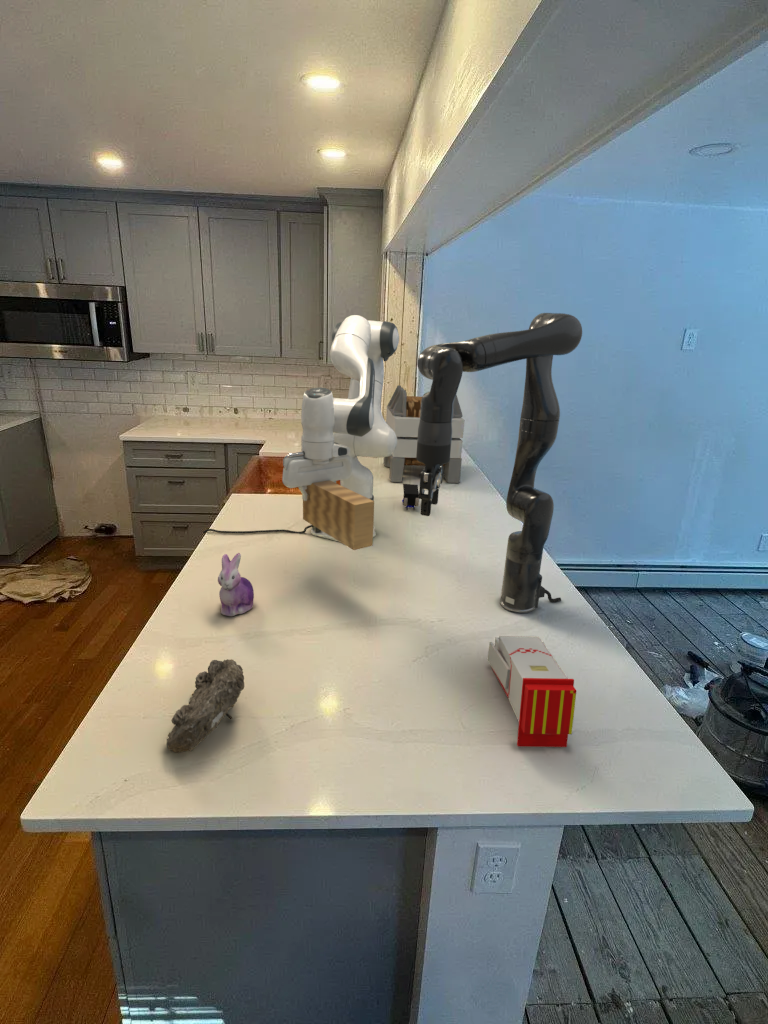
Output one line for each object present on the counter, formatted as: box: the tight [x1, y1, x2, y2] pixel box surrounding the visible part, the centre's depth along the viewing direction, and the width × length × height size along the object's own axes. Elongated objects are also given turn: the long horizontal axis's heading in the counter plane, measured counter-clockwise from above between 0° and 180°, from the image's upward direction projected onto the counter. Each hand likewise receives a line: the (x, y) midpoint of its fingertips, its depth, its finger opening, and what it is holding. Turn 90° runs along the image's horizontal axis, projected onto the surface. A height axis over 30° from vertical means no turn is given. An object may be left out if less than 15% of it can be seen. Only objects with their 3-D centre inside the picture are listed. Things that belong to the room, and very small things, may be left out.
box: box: [302, 480, 375, 551], centre depth 151 cm, size 26×6×12 cm, turn 37°
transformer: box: [383, 384, 465, 484], centre depth 268 cm, size 34×33×41 cm
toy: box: [486, 635, 577, 748], centre depth 115 cm, size 12×13×30 cm
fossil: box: [166, 658, 245, 754], centre depth 106 cm, size 22×10×15 cm
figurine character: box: [401, 483, 420, 511], centre depth 227 cm, size 7×8×15 cm
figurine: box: [217, 552, 255, 617], centre depth 144 cm, size 9×10×15 cm
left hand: (317, 498), depth 158 cm, fingers closed on box, 6 cm apart
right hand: (429, 509), depth 131 cm, fingers open, 8 cm apart
